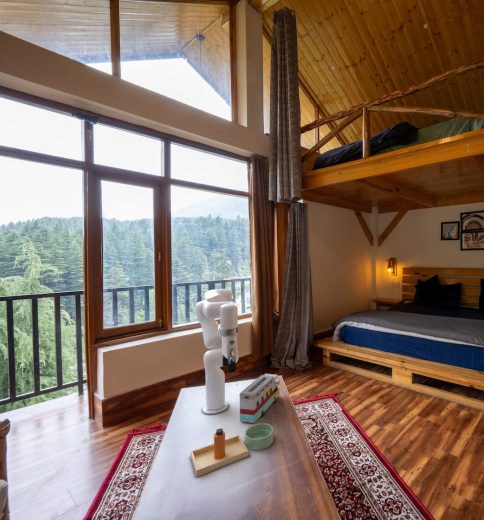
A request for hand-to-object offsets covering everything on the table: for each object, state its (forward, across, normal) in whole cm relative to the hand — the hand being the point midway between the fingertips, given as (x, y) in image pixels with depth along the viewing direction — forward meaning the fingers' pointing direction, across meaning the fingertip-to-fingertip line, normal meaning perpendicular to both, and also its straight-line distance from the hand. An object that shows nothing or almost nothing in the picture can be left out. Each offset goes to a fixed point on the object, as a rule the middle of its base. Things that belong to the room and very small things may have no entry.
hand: (229, 368), depth 136 cm
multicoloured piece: (+30, +13, -20) cm, 39 cm away
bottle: (+30, -14, +7) cm, 34 cm away
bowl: (+30, -14, -9) cm, 34 cm away
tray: (+30, -14, +7) cm, 34 cm away
